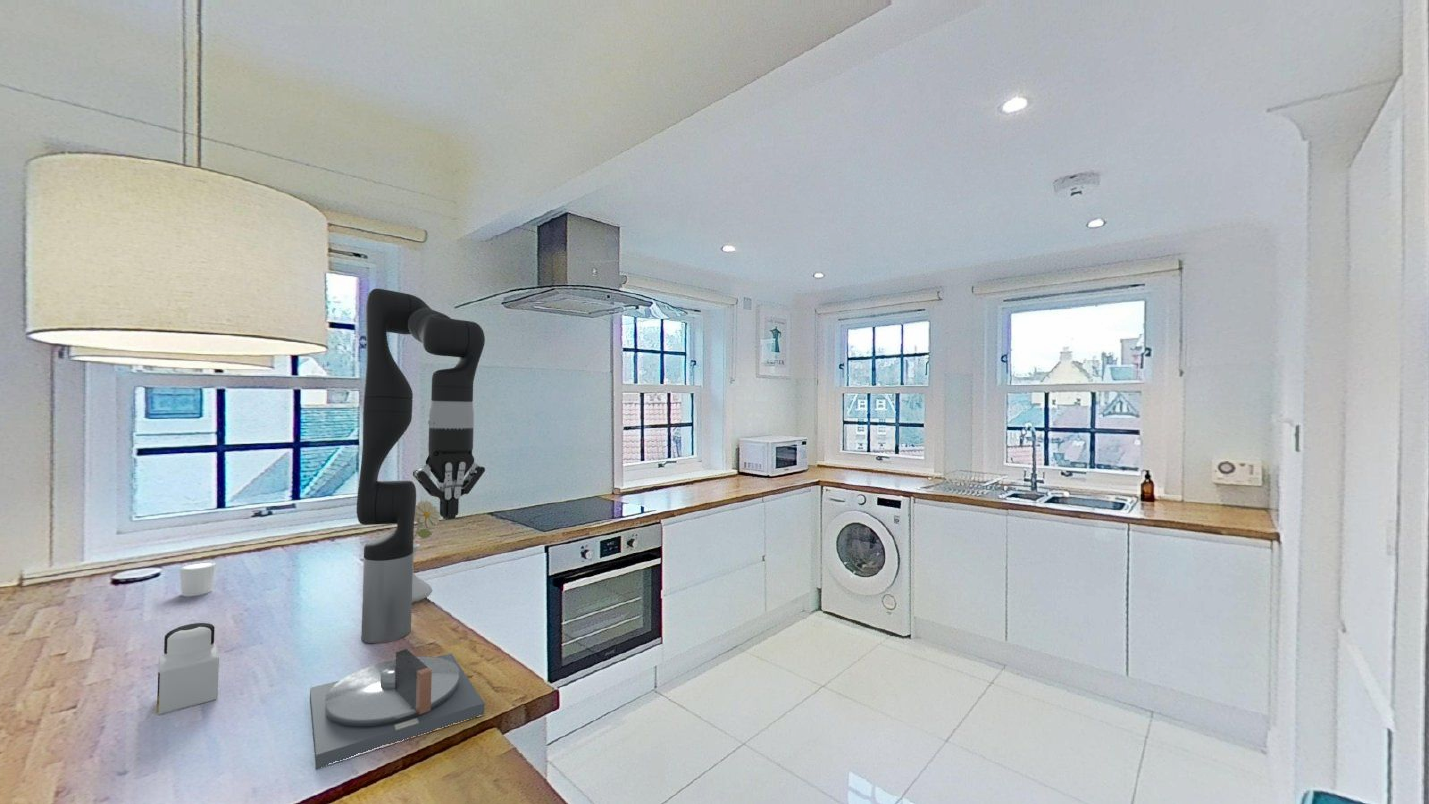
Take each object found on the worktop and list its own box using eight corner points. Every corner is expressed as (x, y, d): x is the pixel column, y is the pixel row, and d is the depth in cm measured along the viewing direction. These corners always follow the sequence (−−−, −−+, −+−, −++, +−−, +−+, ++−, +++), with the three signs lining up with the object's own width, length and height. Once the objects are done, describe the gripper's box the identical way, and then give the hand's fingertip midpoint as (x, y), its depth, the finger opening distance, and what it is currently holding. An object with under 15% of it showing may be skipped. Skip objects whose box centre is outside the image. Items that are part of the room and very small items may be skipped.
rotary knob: (311, 692, 89) (312, 647, 89) (433, 655, 103) (434, 615, 103) (350, 751, 74) (352, 696, 74) (486, 698, 88) (487, 652, 88)
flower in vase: (392, 611, 130) (395, 507, 130) (373, 600, 137) (376, 502, 137) (447, 597, 140) (449, 501, 141) (426, 587, 147) (428, 496, 148)
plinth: (309, 699, 91) (310, 686, 91) (451, 663, 105) (451, 652, 105) (315, 769, 74) (316, 753, 74) (484, 715, 88) (484, 701, 88)
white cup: (207, 595, 138) (208, 568, 138) (172, 598, 135) (173, 570, 136) (220, 587, 144) (221, 560, 144) (187, 589, 142) (187, 563, 142)
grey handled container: (158, 698, 91) (160, 626, 91) (215, 683, 96) (218, 615, 96) (156, 716, 86) (159, 640, 86) (217, 699, 91) (220, 628, 91)
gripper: (423, 427, 94) (420, 527, 93) (495, 426, 104) (493, 516, 104) (405, 425, 98) (402, 521, 98) (475, 424, 109) (473, 511, 108)
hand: (449, 518), depth 101 cm, fingers closed
